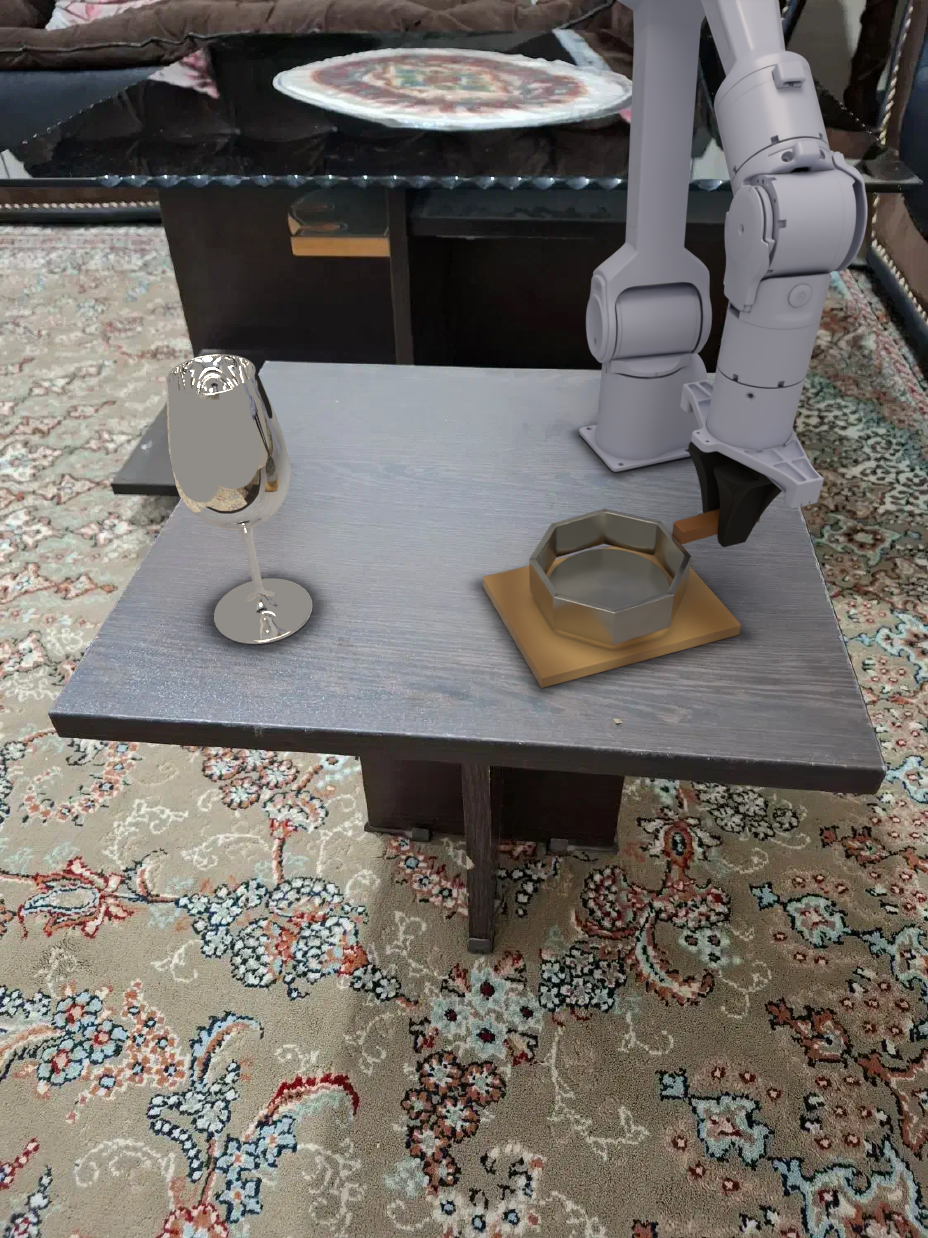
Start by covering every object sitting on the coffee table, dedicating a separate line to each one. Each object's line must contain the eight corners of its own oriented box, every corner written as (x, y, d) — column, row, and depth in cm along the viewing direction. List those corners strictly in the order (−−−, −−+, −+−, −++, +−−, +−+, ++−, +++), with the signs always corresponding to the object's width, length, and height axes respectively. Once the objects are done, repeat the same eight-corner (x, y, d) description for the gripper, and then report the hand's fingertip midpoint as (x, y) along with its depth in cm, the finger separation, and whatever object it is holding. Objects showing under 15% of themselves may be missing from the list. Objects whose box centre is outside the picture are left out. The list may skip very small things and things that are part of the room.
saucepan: (711, 510, 74) (718, 466, 71) (788, 592, 66) (799, 546, 63) (514, 567, 71) (512, 523, 68) (571, 660, 63) (572, 616, 60)
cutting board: (661, 543, 75) (662, 534, 75) (739, 634, 67) (741, 624, 66) (482, 586, 71) (482, 576, 71) (541, 688, 63) (541, 678, 62)
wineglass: (199, 600, 71) (133, 363, 57) (292, 568, 73) (249, 336, 60) (231, 660, 66) (166, 415, 52) (330, 623, 68) (292, 383, 55)
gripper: (654, 333, 63) (633, 494, 72) (772, 431, 53) (730, 604, 62) (741, 318, 65) (710, 477, 74) (871, 410, 55) (816, 582, 64)
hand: (724, 534), depth 68 cm, fingers closed on saucepan
